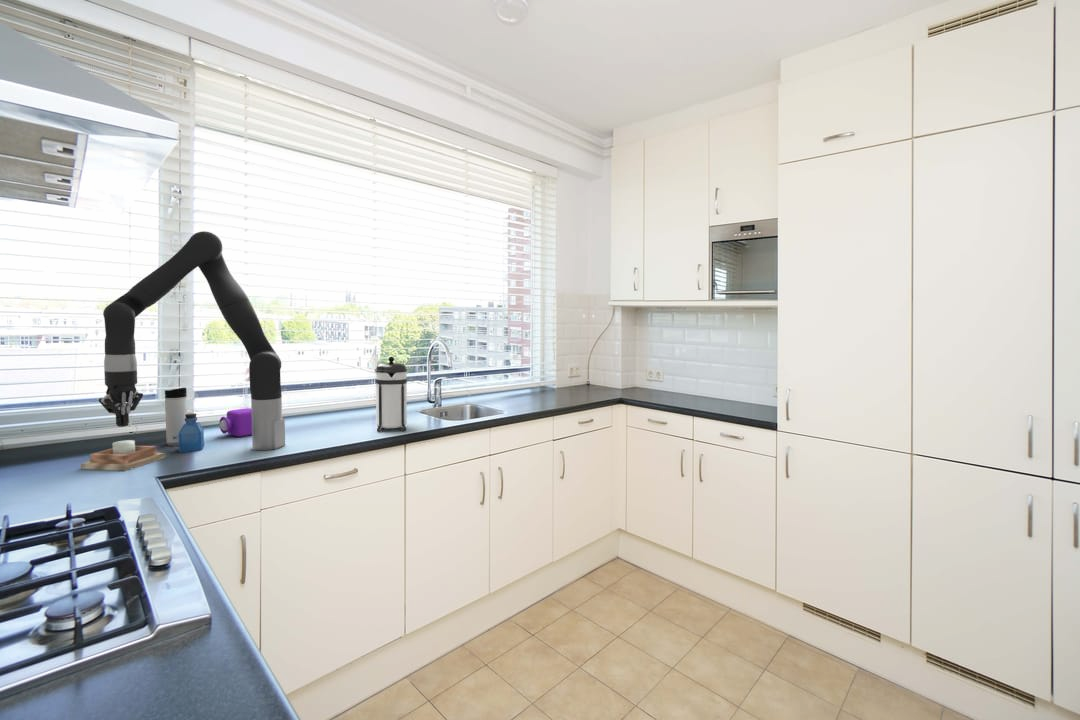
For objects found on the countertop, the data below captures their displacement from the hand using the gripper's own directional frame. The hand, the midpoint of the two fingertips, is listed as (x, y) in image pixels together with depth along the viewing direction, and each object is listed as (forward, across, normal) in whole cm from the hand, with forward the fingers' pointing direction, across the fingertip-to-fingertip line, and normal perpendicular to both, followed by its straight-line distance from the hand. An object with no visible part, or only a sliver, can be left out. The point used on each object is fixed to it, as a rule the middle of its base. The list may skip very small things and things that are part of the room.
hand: (122, 426), depth 151 cm
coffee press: (+11, +60, -61) cm, 86 cm away
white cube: (+10, 0, 0) cm, 10 cm away
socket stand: (+11, 0, 0) cm, 11 cm away
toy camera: (+11, +40, -9) cm, 42 cm away
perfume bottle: (+12, +18, -7) cm, 23 cm away
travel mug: (+12, +24, +3) cm, 27 cm away
